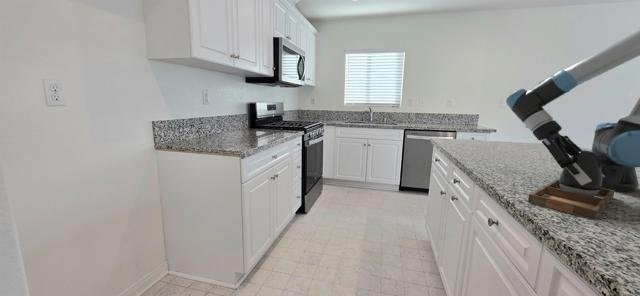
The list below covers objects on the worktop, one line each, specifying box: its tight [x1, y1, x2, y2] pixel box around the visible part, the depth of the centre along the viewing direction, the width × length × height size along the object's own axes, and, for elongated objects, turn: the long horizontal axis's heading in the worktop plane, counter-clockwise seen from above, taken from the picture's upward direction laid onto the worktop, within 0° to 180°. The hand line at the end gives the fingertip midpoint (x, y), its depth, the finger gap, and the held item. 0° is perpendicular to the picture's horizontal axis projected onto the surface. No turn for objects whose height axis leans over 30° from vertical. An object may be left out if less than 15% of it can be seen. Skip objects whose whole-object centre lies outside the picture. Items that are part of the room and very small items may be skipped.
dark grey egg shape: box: [558, 149, 605, 197], centre depth 87 cm, size 10×10×15 cm
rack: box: [527, 178, 616, 221], centre depth 84 cm, size 29×15×2 cm, turn 126°
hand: (593, 181), depth 85 cm, fingers closed on dark grey egg shape, 9 cm apart
